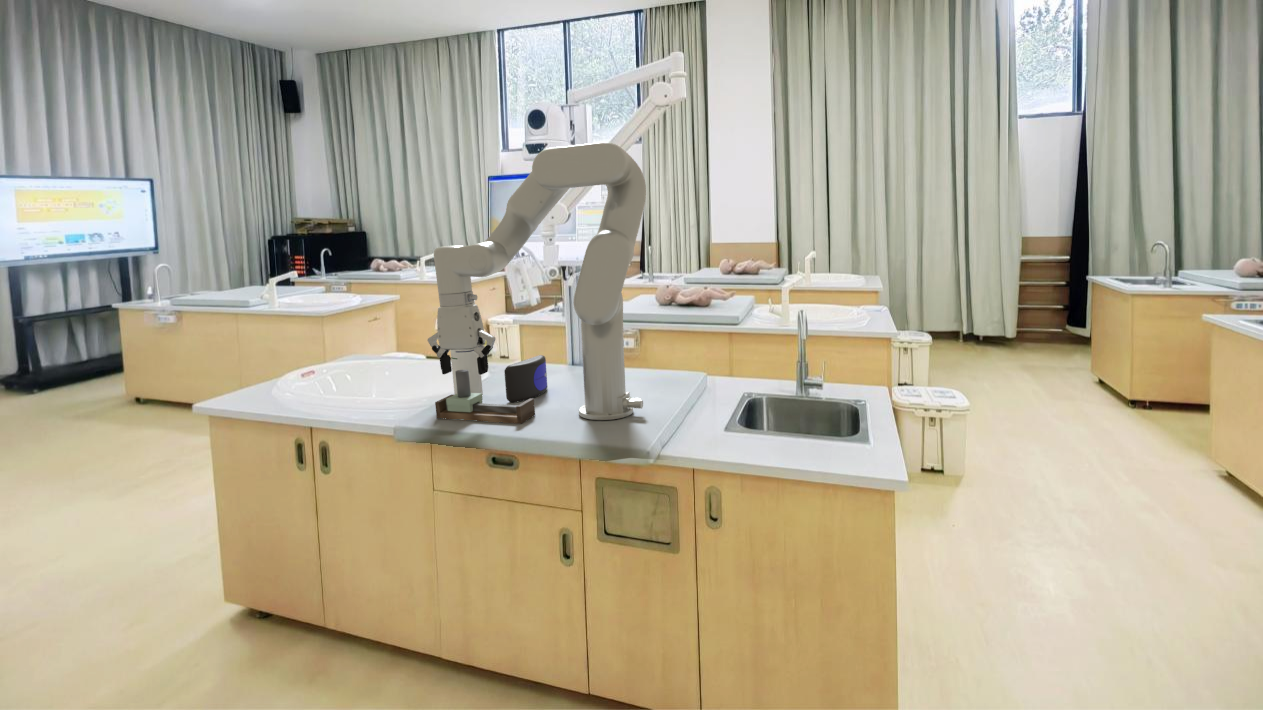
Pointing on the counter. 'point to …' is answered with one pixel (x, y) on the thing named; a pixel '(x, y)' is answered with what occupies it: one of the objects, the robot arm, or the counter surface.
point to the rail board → (489, 412)
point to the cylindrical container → (466, 368)
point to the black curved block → (526, 379)
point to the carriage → (463, 394)
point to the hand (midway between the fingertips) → (465, 373)
